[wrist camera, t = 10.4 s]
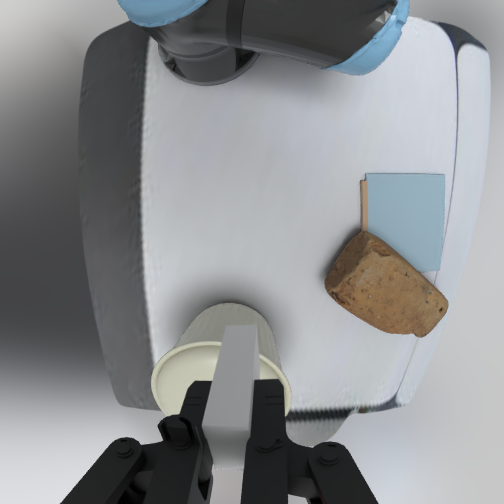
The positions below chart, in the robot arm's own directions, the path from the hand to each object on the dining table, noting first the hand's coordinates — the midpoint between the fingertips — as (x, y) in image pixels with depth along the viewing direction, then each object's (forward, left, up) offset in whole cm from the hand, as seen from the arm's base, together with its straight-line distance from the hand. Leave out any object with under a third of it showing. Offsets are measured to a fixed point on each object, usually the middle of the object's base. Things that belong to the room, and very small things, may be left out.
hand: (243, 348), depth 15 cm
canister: (+19, -6, -33) cm, 38 cm away
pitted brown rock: (+5, +11, -27) cm, 30 cm away
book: (+2, +23, -32) cm, 40 cm away
